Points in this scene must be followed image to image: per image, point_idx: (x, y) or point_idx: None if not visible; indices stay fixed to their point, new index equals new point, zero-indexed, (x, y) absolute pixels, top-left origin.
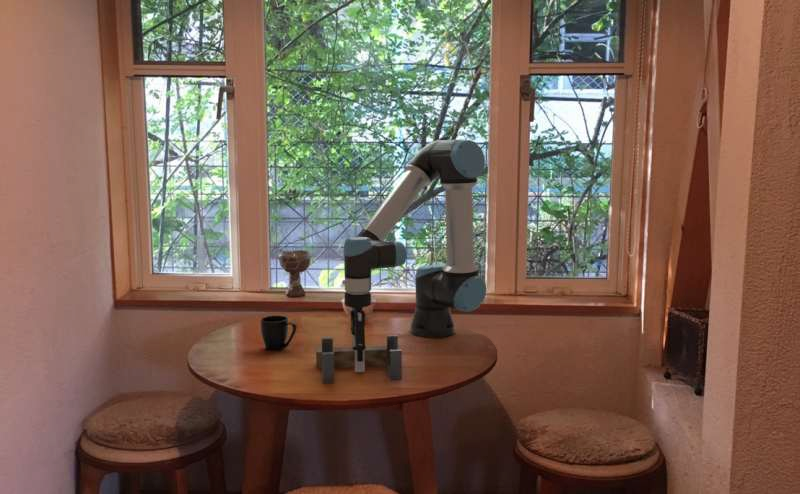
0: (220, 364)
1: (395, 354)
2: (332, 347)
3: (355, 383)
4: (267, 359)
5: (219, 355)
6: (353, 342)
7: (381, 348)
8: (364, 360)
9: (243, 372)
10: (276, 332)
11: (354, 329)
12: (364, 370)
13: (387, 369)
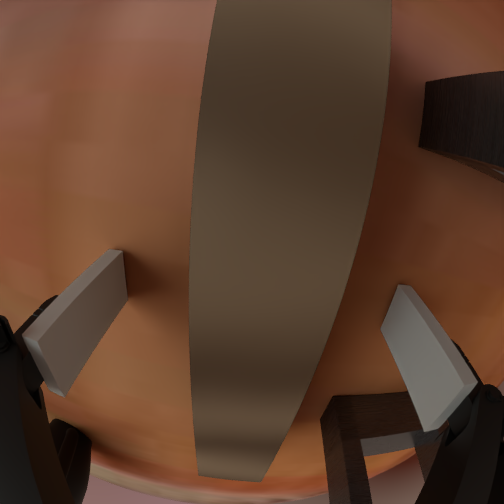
0: (187, 495)
1: None
2: (369, 496)
3: (478, 331)
4: (156, 465)
5: (135, 484)
6: (82, 350)
7: (323, 143)
8: (440, 327)
9: (244, 491)
10: (81, 482)
11: (47, 440)
12: (413, 290)
13: (459, 160)
